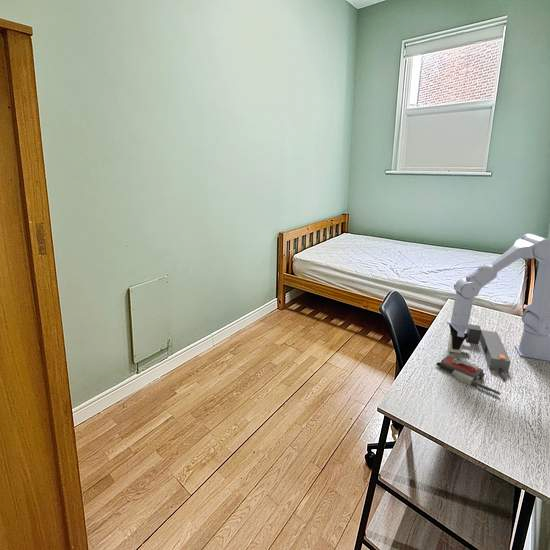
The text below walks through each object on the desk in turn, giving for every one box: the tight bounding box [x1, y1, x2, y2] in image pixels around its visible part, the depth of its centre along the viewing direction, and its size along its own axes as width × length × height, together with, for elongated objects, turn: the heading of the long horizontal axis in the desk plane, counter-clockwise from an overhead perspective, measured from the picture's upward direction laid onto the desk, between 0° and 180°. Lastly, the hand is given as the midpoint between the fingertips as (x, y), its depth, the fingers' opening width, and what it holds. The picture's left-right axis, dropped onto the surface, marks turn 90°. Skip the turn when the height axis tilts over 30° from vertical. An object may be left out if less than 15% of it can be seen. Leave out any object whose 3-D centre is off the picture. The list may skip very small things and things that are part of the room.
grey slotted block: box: [465, 323, 511, 381], centre depth 126 cm, size 10×28×6 cm, turn 159°
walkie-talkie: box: [435, 355, 501, 395], centre depth 114 cm, size 9×4×20 cm
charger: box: [447, 332, 471, 354], centre depth 130 cm, size 7×4×6 cm, turn 69°
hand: (454, 345), depth 131 cm, fingers closed on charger, 4 cm apart
